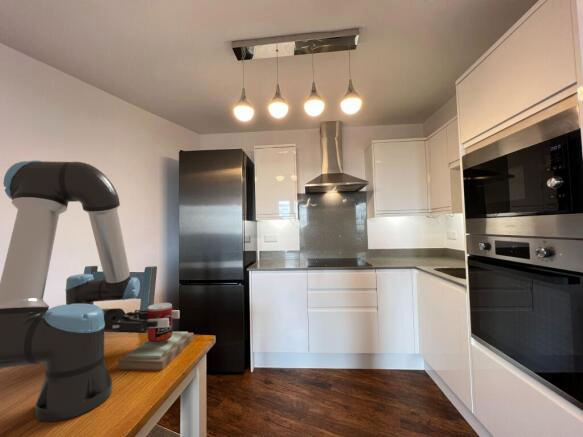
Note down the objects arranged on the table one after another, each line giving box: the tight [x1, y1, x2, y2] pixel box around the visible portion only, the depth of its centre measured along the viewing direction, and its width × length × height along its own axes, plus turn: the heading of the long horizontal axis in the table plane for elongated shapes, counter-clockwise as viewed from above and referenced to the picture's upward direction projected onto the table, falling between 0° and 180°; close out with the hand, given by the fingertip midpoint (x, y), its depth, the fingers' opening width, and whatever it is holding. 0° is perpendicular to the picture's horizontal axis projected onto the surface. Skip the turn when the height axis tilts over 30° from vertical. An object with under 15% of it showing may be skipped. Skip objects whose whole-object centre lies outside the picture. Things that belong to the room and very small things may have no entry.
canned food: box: [146, 302, 173, 342], centre depth 94 cm, size 8×8×11 cm
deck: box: [118, 331, 195, 371], centre depth 94 cm, size 22×14×4 cm, turn 176°
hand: (173, 318), depth 94 cm, fingers closed on canned food, 8 cm apart
